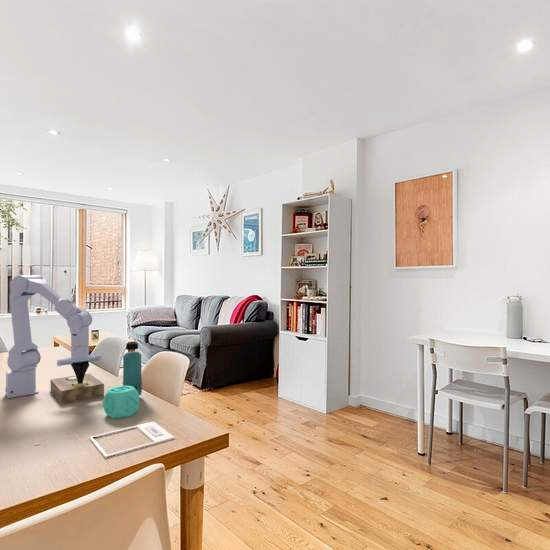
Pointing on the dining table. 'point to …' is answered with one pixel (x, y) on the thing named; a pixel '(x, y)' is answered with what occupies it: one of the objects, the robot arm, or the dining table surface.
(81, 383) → the mustard peg
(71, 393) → the peg block
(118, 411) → the decorative dice
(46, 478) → the dining table surface
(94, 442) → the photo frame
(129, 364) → the beverage bottle
